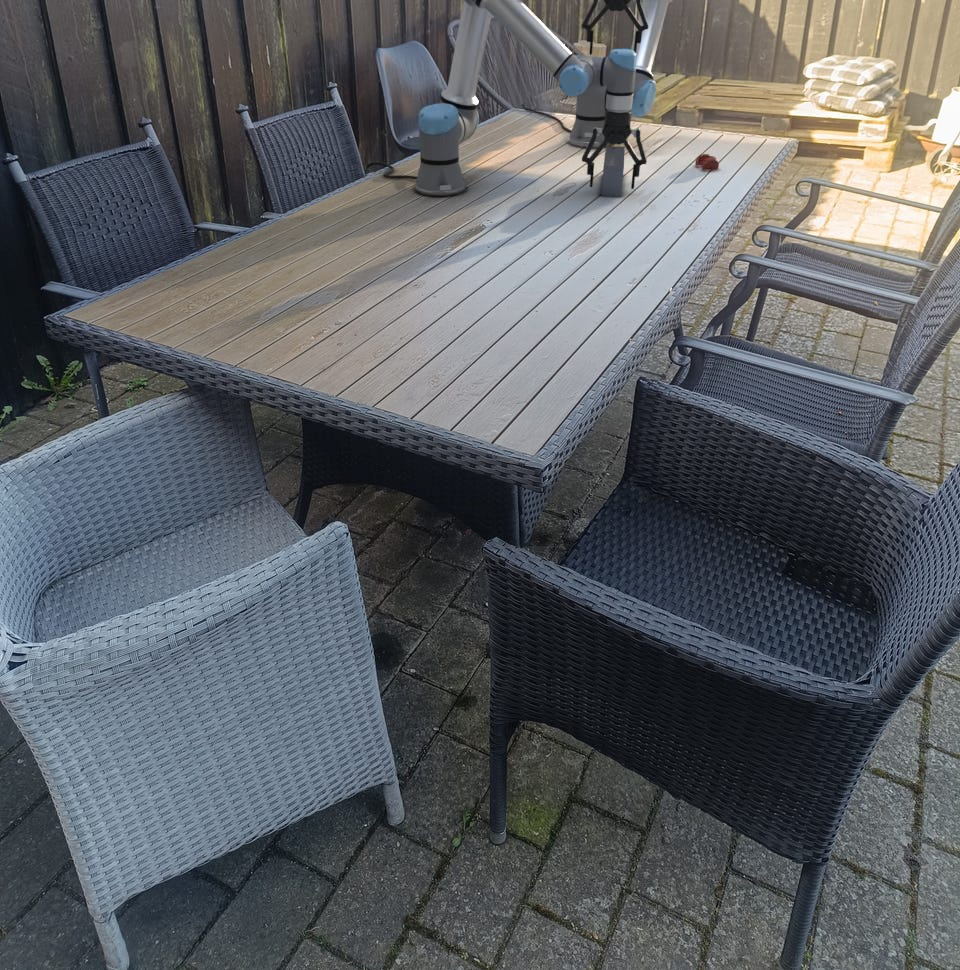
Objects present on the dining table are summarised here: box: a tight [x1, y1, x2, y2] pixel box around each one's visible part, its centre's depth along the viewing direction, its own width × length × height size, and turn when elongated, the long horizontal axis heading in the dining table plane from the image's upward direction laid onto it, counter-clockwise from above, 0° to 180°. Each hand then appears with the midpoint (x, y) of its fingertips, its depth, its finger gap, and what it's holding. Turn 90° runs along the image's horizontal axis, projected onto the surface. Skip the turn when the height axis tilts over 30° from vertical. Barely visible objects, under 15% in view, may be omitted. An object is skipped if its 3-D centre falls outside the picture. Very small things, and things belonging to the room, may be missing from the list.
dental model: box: [694, 153, 720, 171], centre depth 277 cm, size 6×4×8 cm
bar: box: [600, 145, 626, 198], centre depth 260 cm, size 23×6×9 cm, turn 171°
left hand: (611, 186), depth 255 cm, fingers open, 12 cm apart
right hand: (612, 54), depth 263 cm, fingers open, 13 cm apart
